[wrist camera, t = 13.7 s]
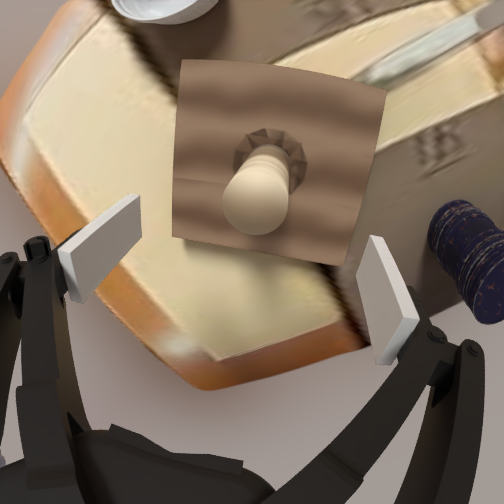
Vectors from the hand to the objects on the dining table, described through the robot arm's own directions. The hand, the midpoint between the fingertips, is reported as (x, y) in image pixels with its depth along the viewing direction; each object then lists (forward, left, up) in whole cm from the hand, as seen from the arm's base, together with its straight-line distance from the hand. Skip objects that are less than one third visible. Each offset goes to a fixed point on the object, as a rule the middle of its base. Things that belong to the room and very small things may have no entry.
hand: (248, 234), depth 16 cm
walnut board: (0, 0, -21) cm, 21 cm away
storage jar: (+4, +28, -22) cm, 36 cm away
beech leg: (0, 0, -21) cm, 21 cm away
